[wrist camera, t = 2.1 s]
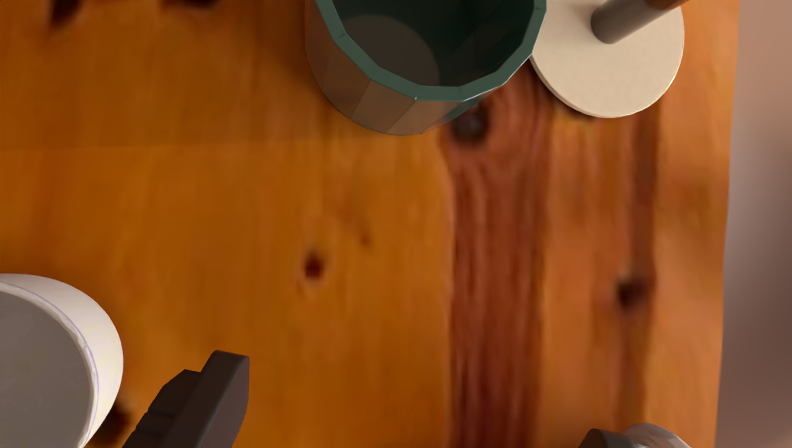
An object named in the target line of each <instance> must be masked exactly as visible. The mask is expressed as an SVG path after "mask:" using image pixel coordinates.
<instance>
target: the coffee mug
mask: <svg viewBox="0 0 792 448" xmlns="http://www.w3.org/2000/svg"><path fill="white" fill-rule="evenodd" d="M623 434H624V435H627V436H629V437H630V438H631V440H632V441H633V443H634V445H635V448H690V447H689V446H688V445H687V444H686V443H685V442H684V441H683V440H681V439H680V438H679V437H678V436H677V435H675V434H673V433H672V432H670V431H668V430H666V429H665V428H663V427H660V426H656V425H653V424H649V423H642V424H635V425H632V426H630V427H628V428H627V429H626V430H625V431H624V432H623Z"/></svg>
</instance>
